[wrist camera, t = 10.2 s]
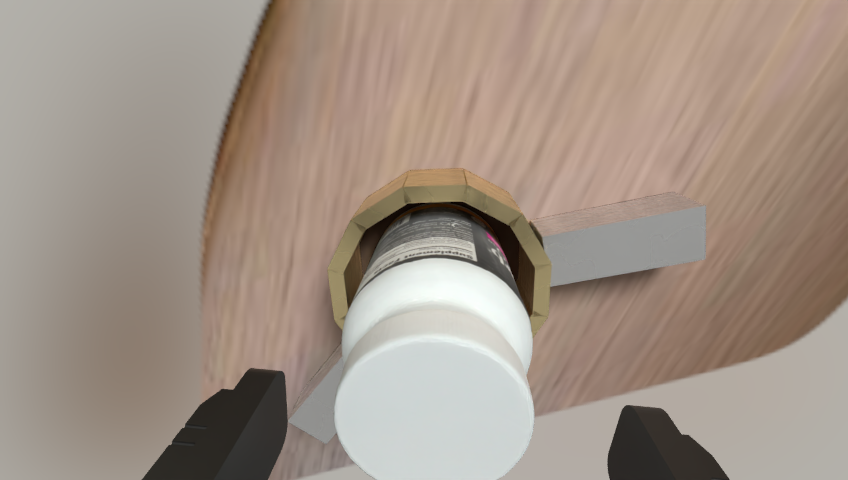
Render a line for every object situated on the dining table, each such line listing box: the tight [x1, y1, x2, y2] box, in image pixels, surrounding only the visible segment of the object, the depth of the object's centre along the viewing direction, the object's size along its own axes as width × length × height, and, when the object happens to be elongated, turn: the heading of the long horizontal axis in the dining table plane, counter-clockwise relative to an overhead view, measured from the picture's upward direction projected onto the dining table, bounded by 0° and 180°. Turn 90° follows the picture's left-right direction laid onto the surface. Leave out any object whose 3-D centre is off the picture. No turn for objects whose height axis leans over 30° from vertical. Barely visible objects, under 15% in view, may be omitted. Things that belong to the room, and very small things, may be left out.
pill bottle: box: [334, 202, 534, 480], centre depth 14 cm, size 6×6×10 cm
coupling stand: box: [288, 168, 706, 444], centre depth 17 cm, size 20×9×3 cm, turn 123°
